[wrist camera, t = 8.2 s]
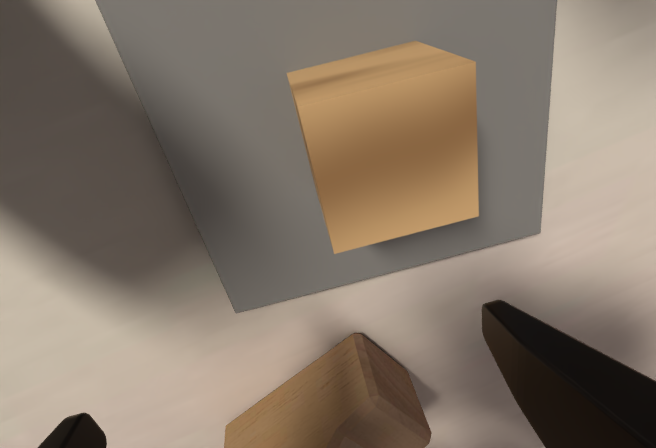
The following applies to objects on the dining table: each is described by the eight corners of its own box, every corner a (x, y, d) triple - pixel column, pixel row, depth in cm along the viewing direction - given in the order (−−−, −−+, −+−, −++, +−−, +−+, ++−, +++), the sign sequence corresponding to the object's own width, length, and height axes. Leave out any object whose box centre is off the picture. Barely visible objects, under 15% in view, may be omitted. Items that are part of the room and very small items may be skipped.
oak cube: (426, 161, 18) (478, 216, 14) (316, 190, 18) (334, 254, 14) (415, 40, 15) (475, 61, 11) (286, 73, 15) (297, 106, 11)
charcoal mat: (531, 225, 22) (540, 233, 21) (236, 303, 21) (235, 313, 21) (554, -182, 13) (570, -191, 13) (75, -64, 13) (65, -67, 12)
